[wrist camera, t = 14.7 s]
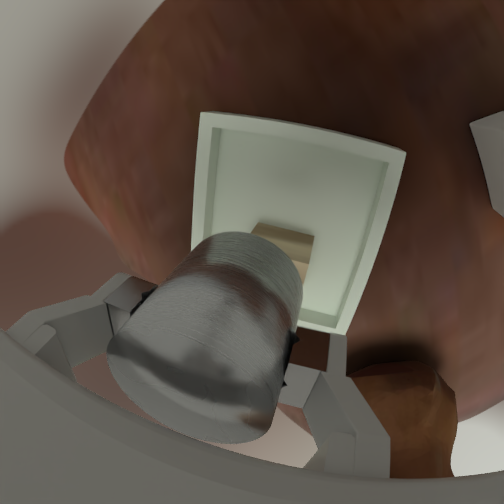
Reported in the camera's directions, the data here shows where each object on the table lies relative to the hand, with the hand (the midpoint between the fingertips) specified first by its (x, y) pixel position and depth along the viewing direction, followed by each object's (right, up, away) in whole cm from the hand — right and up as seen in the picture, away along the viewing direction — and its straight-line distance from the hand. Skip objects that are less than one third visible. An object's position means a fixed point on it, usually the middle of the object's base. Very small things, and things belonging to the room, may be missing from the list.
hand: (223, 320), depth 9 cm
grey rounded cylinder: (0, +1, +2) cm, 2 cm away
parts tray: (+4, +4, +15) cm, 16 cm away
